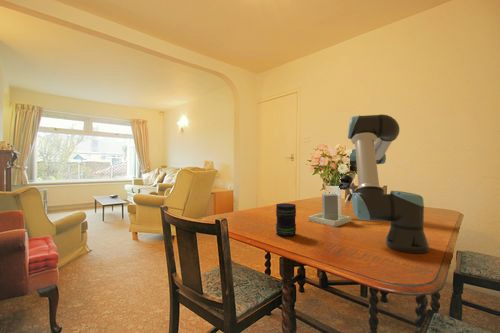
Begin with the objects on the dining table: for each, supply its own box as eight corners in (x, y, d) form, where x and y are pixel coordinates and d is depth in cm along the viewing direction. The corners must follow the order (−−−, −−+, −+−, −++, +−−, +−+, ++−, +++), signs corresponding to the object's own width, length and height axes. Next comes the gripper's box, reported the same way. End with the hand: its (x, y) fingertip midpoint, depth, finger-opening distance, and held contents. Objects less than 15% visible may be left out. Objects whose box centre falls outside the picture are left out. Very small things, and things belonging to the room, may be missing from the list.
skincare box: (335, 218, 149) (335, 193, 149) (338, 221, 142) (338, 194, 142) (321, 218, 150) (321, 193, 150) (324, 221, 143) (324, 194, 143)
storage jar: (282, 230, 126) (282, 202, 126) (299, 234, 120) (299, 204, 120) (272, 235, 118) (272, 205, 118) (289, 239, 112) (289, 207, 112)
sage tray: (334, 226, 134) (334, 221, 134) (308, 221, 147) (308, 216, 147) (350, 221, 145) (350, 216, 145) (324, 216, 159) (324, 212, 159)
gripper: (367, 183, 153) (356, 209, 143) (332, 180, 172) (320, 204, 162) (364, 175, 149) (352, 201, 140) (328, 173, 168) (315, 197, 159)
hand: (335, 203), depth 151 cm, fingers open, 13 cm apart
